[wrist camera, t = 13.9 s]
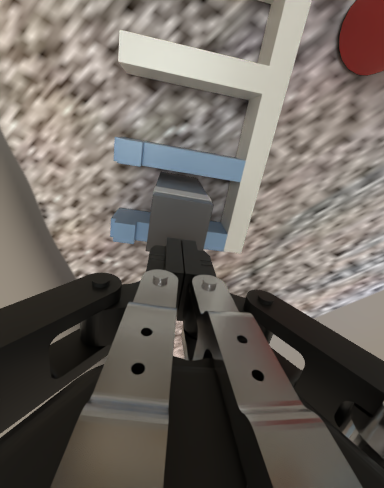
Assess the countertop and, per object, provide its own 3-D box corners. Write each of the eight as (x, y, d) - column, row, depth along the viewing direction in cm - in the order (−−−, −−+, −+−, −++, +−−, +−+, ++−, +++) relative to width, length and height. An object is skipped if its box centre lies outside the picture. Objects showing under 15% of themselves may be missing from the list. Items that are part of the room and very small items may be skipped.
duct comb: (299, -20, 21) (335, -64, 16) (232, 239, 30) (243, 257, 26) (135, -69, 19) (123, -134, 14) (118, 224, 28) (107, 240, 24)
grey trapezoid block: (197, 177, 27) (214, 204, 16) (190, 212, 29) (201, 259, 18) (160, 170, 26) (152, 194, 15) (155, 206, 28) (144, 251, 17)
